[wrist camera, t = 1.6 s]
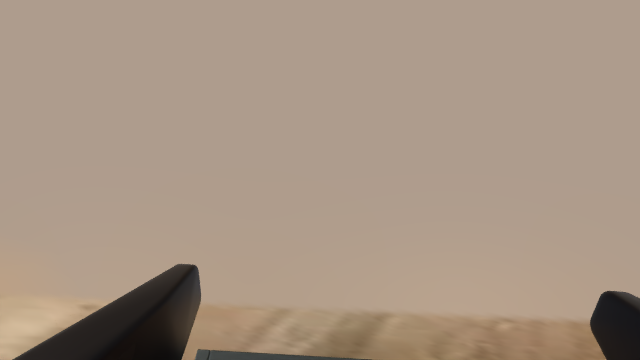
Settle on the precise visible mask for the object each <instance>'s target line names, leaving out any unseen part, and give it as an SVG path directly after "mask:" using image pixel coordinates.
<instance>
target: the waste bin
mask: <svg viewBox="0 0 640 360" xmlns="http://www.w3.org/2000/svg"><path fill="white" fill-rule="evenodd" d="M195 360H370V359H353V358H336V357H319V356H302V355H285V354H268V353H251V352H233V351H216V350H211V351H210V350H201V349H199V350H198V351H197V354H196V358H195Z"/></svg>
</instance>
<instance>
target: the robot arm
mask: <svg viewBox="0 0 640 360" xmlns="http://www.w3.org/2000/svg"><path fill="white" fill-rule="evenodd" d="M200 301H201V289H200V280H199V272H198V268H197V266H195V265H190V264H178V265H176V266H174V267H172V268H171V269H169V270H167V271H165V272H163V273H162V274H160V275H159V276H157V277H155V278H153V279H151V280H150V281H148V282H146V283H144V284H143V285H141V286H139V287H137V288H136V289H134V290H132V291H131V292H129V293H127V294H125V295H124V296H122V297H120V298H118V299H117V300H115V301H113V302H112V303H110V304H108V305H106V306H105V307H103V308H101V309H99V310H98V311H96V312H94V313H92V314H91V315H89V316H87V317H86V318H84V319H82V320H80V321H79V322H77V323H75V324H73V325H72V326H70V327H68V328H67V329H65V330H63V331H61V332H60V333H58V334H56V335H54V336H53V337H51V338H49V339H47V340H46V341H44V342H42V343H41V344H39V345H37V346H35V347H34V348H32V349H30V350H28V351H27V352H25V353H23V354H21V355H20V356H18V357H16V358H15V359H13V360H181V359H182V357H183V354H184V351H185V348H186V345H187V342H188V339H189V336H190V333H191V330H192V327H193V323H194V320H195V317H196V314H197V311H198V308H199V305H200ZM590 326H591V330H592V333H593V335H594V336H595V338H596V340H597V342H598V344H599V346H600V348H601V350H602V352H603V354H604V356H605V358H606V359H607V360H640V298H638V297H635V296H634V295H632V294H629V293H626V292H617V291H607V292H604V293H603V294H601V296H600V298H599V301H598V303H597V305H596V308H595V310H594V312H593V315H592V317H591V320H590Z"/></svg>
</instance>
